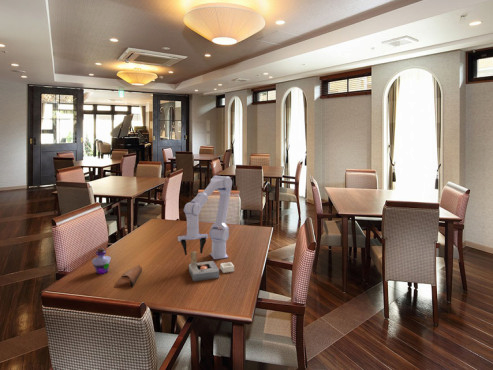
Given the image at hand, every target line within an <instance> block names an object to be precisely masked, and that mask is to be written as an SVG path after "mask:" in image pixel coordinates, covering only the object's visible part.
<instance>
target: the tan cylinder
mask: <svg viewBox="0 0 493 370" xmlns="http://www.w3.org/2000/svg"><path fill="white" fill-rule="evenodd" d="M197 257H198V256H197V251H191V252H190V264H191V263H198V262H197V261H198V259H197Z"/></svg>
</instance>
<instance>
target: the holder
mask: <svg viewBox="0 0 493 370" xmlns="http://www.w3.org/2000/svg"><path fill="white" fill-rule="evenodd" d="M219 268H220V269H219V270H221V272H222V274H225V273H233V272H235V265H234V264H233V262H231V261H229V262H222V263H220V265H219Z"/></svg>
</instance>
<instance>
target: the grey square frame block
mask: <svg viewBox="0 0 493 370" xmlns="http://www.w3.org/2000/svg"><path fill="white" fill-rule="evenodd" d="M202 266H206V267H207V269H201V270H200V267H202ZM188 270H189V271H188V272H189V274H190V277H191V279H192V281H193V282H199V281H200V282H201V281H206V280H214V279H220V269H219V267H218V266H217V264H216V263H215V261H214V260H210V261H201V262H197V263H191V262H190V263H188Z"/></svg>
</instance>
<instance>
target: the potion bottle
mask: <svg viewBox="0 0 493 370" xmlns="http://www.w3.org/2000/svg"><path fill="white" fill-rule="evenodd" d="M96 250H97V251H96V252H95V255H96V256H97V257H93V259H91V263H92V266H93V267H94V269H95V273H97V274H96V275H98V274H102V275H105V274H104V273H106V274H108V273H109V267H110V264H111V259H112V257H111V256H108V255H106V254H107V251H106V249H105V248H104V247H99V248H97V249H96ZM107 272H108V273H107Z"/></svg>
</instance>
